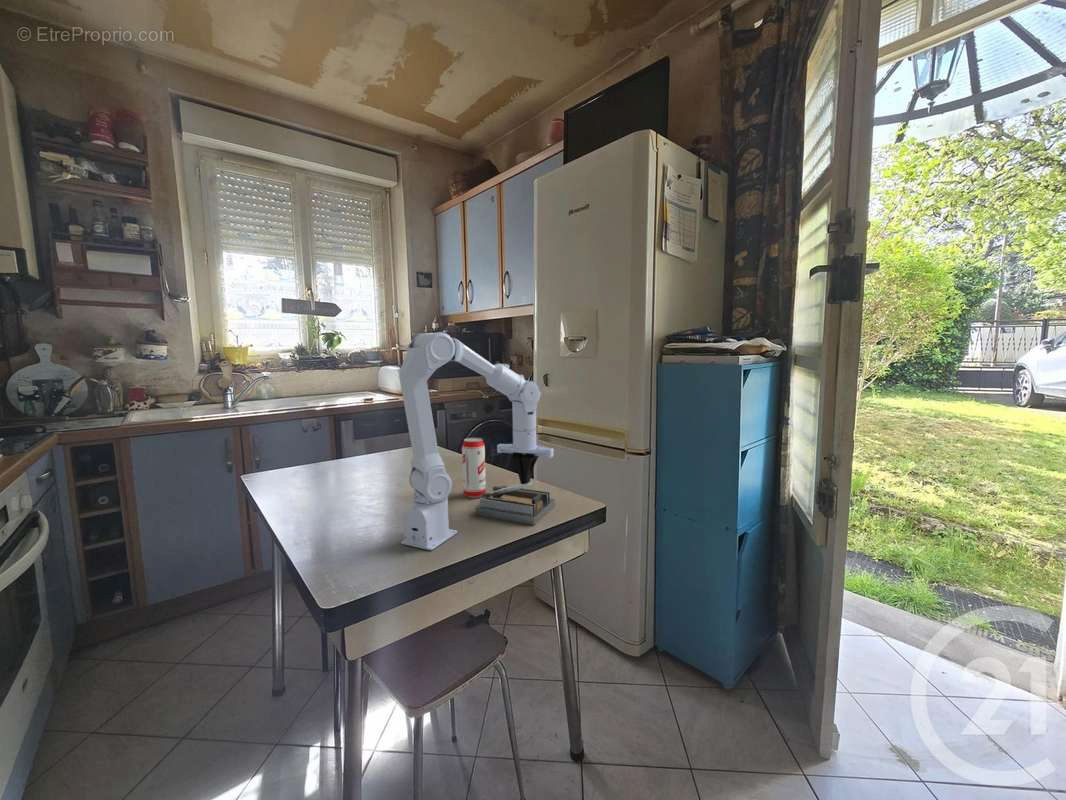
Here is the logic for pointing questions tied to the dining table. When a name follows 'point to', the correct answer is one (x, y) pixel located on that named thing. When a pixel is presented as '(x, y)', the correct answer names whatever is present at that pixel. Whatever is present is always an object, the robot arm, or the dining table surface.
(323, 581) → the dining table surface
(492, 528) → the dining table surface
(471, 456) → the beer can
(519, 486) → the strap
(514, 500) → the heatsink block
